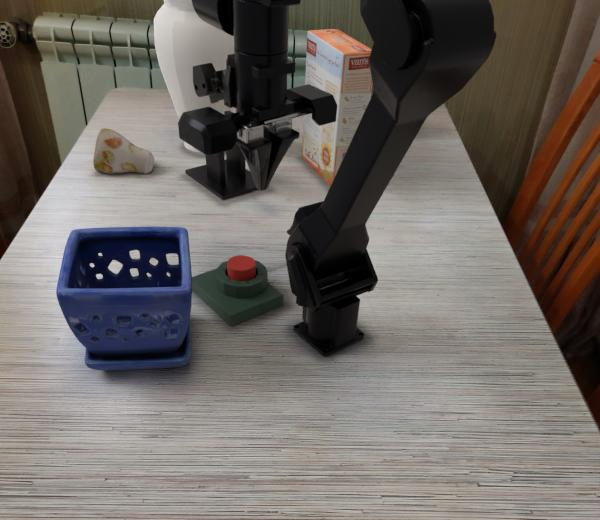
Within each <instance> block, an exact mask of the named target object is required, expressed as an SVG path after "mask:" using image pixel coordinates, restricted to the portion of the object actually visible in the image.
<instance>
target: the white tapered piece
mask: <svg viewBox="0 0 600 520" xmlns="http://www.w3.org/2000/svg"><path fill="white" fill-rule="evenodd" d="M92 160H93V162H92V163H93V168H94V170H96V171H98V172H100V173H103V174H107V175H108V174H109V175H112V174H113V175H114V174H124V173H136V174H137V173H138V174H143V175H146V174H150V173H151V172H152V171H153V169H154V165H155V156H154V155H153V153H152V151H150V150H147V149H144V148H141V147H139V146H137V145H136V144H134V143H133V142H131V141H130V140H129V139H127V138H126V137H125V136H124V135H122V134H121V133H119V132H118V131H116V130H114V129H111V128H104V127H103V128H100V130H99V132H98V134H97V137H96V141H95V147H94V152H93V159H92Z"/></svg>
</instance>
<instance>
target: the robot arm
mask: <svg viewBox="0 0 600 520" xmlns="http://www.w3.org/2000/svg"><path fill="white" fill-rule="evenodd" d="M301 1H302V0H192V5H193V7H194V10H195V12H196V14H197V15H198V16H199V18H201V19H202V20H203V21H204V22H206V23H208V24H210V25H212V26H214V27H216V28H218V29H220V30H222V31H224V32H225V33H227V34H229V35H231V36H234V54H230V55H227V57H228V58H227V59H226V69H225V70H220V71H216V70H215V68H214V66H213V64H212V63H207V64H202V65H197V66H193V84H194V89H195V93H196V94H197V96H198V97H203V96H208V95H209V98H210V103H215V102H219V100H224V105H225V106H227V107H229V108H231V109H232V108H234V109H235V112H233V113H232V114H228V115H224V114H222V113H220V112H218V111H217V110H215V109H213V108H211V107H205V108H200V109H196V110H192V111H187V112H183V114H182V115H181V117H180V119H179V118H178V122H177V126H178V137H179V139H180V140H182V141H183V142H184V141H185V142H186V143H188V144H189V145H191V146H192V147H194V148H196V149H197V150H199V151H200V152H199V153H201V152H202V154H204V155H206V154H208V155H213V154H217V153H220V152H224V153H225V152H226V151H228V150H231V149H232V148H233V147H234V145H235V144H236V143H237V144H238V145H239V147H240V149H241V151H242V152H243V154H244V157H245V162H246V164H247V167H248V170H249V171H250V172H251V175H252V177H253V180H254V183H255V185H256V188H257V189H258V190H257V191H260V192H264V191H266V190H268V188H269V185H270V184H271V181H272V179H273V177H274V176H275V174H276V171H277V170H278V168H279V166H280V164H281V162H282V160H283V159H284V157H285V155H286V154H287V152H288V151H289V149H290V148H291V146H292V144H293V143H294V141H295V140H298V139H299V138H300V134H301V133H300V132H299V131H297V130H296V129H294V128H293V119H294V118H299V117H303V116H304V115H307V114H311V113H312V120H313V121H314V122H315V123H316V124H317V125H319V126H321V125H325V124H328V123H332V122H336V116H337V103H336V101H335V98H334V96H333V95H332V94H330V93H327V92H325V91H323V90H321V89H318V88H316V87H314V86H312V85H310V84H308V85H305V84H304V85H300V86H295V87H291V88H290V87H289V88H288V75H289V74H295V73H296V61H294V60H292V59H289V35H290V34H289V33H290V31H289V30H290V29H289V27H290V7H292V6H299V5H300V4H301ZM359 12H360V16H361V18H362V20H363V22H364V25H365V27H366V29H367V31H368V33H369V35H370V38H371V40H372V42H373V44H372V47H371V49H372V50H371V54H370V57H369V65H370V71H371V76H372V82H373V85H372V89H373V90H372V91H373V92H372V93H371V95H372V97H371V99H370V101H369V103H368V105H367V108H366V110H365V112H364V114H363V116H362V118H361V121H360V123H359V125H358V127H357V129H356V132H355V134H354V136H353V138H352V140H351V142H350V145H349V147H348V149H347V151H346V153H345V156H344V158H343V160H342V162H341V164H340V166H339V169H338V171H337V173H336V175H335V177H334V180H333V182H332V184H331V186H330V185H329V189H328V191H327V193H326V195H325V197H324V199H323V200H322V201H318V202H315V203H311V204H307V205H304V206H301V207H299V208H298V209H297V210H296V212H294V216H293V221H292V224H291V225H290V228H288V229H287V230H286V234H287V235H288V236H289V237H288V239H287V242H286V249H285V254H284V256H285V262H286V268H287V269H286V270H287V274H288V275H287V276H288V281H289V286H290V290H291V293H292V295H294V296H295V303H296V305H297V306H299V307H302V314H301V315H302V316H301V317H302V318H301V319H302V320H303V321H301V322H298V323H297V324H294V325H293V326H292V330H293V332H294V333H295V334H297V335H298V336H299V337H300V338H301V339H302V340H303V341H305V342H306V343H307V344H308V345H310V346H311V347H312V348H313V349H314V350H316V351H317V353H319V354H320V355H322V356H323V357H328V356H331V355H333V354H334V353H337V352H339V351H340V350H343V349H345V348H347V347H349V346H351V345H354V344H356V343H358V342H360V341H362V340H364V339H365V335H366V334H365V332H363V331H362V330H361V329H360V328H358V321H359V320H358V319H359V312H360V304H361V298H359V297H358V296H359V295H363V294H365V293H370V292H373V291H374V289H375V288H376V285H377V284H378V281H379V278H378V275H377V273H376V270H375V267H374V264H373V261H372V259H371V257H370V254H369V252H368V249H367V248H368V245H369V242H370V237H369V233H368V229H367V222H368V220H369V219H370V217H371V215H372V213H373V212H374V210H375V208H376V207H377V205H378V203H379V202H380V200H381V197H382V196H383V195H384V193H385V191H386V189H387V187H388V185H389V184H390V182H391V181H392V179H393V177H394V176H395V173H396V172H397V170H398V169H399V166H400V164H401V163H402V161H403V160H404V158H405V157H406V155H407V153H408V151H409V149H410V148H411V146H412V144H413V143H414V141H415V139H416V138H417V136H418V134H419V132H420V131H421V129H422V127H423V125H424V123H425V122H426V120H427V118H429V116H430V115H431V114H432V113H434V112H435V111H436V110H437V109H439V108H440V107H441V106H442V105H444V104H445V103H446V102H447V101H449V100H450V99H451V98H453V97H454V96H455V95H457V94H458V93H459V92H460V91H462V90H463V89H464V87H465V86H466V85H467V84H468V83H469V82H470V81H471V80H472V78H473V77H474V76H475V75H476V73H477V72H478V71H479V70H480V69H481V68H482V67H483V66H484V64H485V63H486V62H487V60H488V59H489V58H490V56H491V53H492V52H493V49H494V47H495V43H496V38H497V32H496V30H495V15H494V11H493V6H492V4H491V2H490V0H360V4H359Z"/></svg>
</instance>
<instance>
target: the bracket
mask: <svg viewBox="0 0 600 520" xmlns="http://www.w3.org/2000/svg"><path fill="white" fill-rule="evenodd" d="M232 113H234V112H233V111H232V110H231V111H230V110H229V111H224V115H228V114H232ZM225 153H226V155H225ZM225 157H226V159H225ZM246 167H247V166H246V159H245V157H244V154H243V152H242V151H241V149H240V147H239V145H238V144H237V143H236V144H235V145H234V147H233V148H232V149H231V150H228V151H224V152H220V153H217V154H213V155H208V154H205V164H203V165H199V166H195V167H192V168H187V169H185V170H184V171H185V174H186V175H187V176H188V177H190V178H191V179H192V180H194V181H195V182H197V183H198V184H200V185H201V186H202V187H204V188H205V189H207V190H208V191H209V192H210V193H212V194H213V195H214V196H216V197H218V198H219V199H220V200H222V201H226V200H228V199H233V198H235V197H239V196H243V195H246V194H250V193H253V192H256V191H259V190H258V189H257V188H256V185H255V183H254V180H253V177H252V175H251V172H250V170H249V169H247V168H246Z"/></svg>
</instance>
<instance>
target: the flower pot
mask: <svg viewBox="0 0 600 520" xmlns="http://www.w3.org/2000/svg"><path fill="white" fill-rule="evenodd" d="M133 251H138V252H139V258H132V257H131V254H130V253H131V252H133ZM99 254H101V255H99ZM169 254H171V255H172V254H174V255H177V257H178V258H177V259H178V264H170V263H169V261H168V257H167V255H169ZM151 259H155V260H156V261H157V263H156V264H154V265H153V263H151V262H150V261H151ZM113 261H116V262H118V263H120V264H121V268H120V269H119V272H118V273H114V272H113V271H112V270H110V268H109V266H110V265H111V263H112V262H113ZM91 264H93V265H94V266H91ZM133 269H136V270H137V273H138V275H135V276H134V275H132V274H131V270H133ZM148 274H149V275H150V276H149V275H148ZM168 274H169V275H168ZM97 275H101V276H102V277H101V278H98V277H97ZM192 277H193V274H192V259H191V251H190V239H189V230H188V229H187V228H186V227H182V226H112V227H111V226H109V227H107V226H106V227H87V228H77V229H76V228H75V229H72V230H71V231H70V233H69V235H68V237H67V240H66V244H65V246H64V250H63V255H62V260H61V265H60V270H59V275H58V279H57V285H56V291H55V294H56V295H55V296H56V299H57V302H58V305H59V307H60V310H61V312H62V315H63V317H64V320H65V321H66V323H67V326H68V328H69V329H70V331H71V332H72V334H73V336H74V337H75V338H76V339H77V341H78V342H79V343H80V344H81V345H82V346H83V347H84V348H85V353H84V363H85V366H86V367H87V368H88V369H91V370H95V371H125V370H151V369H153V370H154V369H168V368H181V367H183V366H186V365H187V364H188V363H189V362H190V360H191V332H192V331H191V328H192V327H191V314H192V313H191V312H192V301H193V300H192V299H193V291H192Z"/></svg>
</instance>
